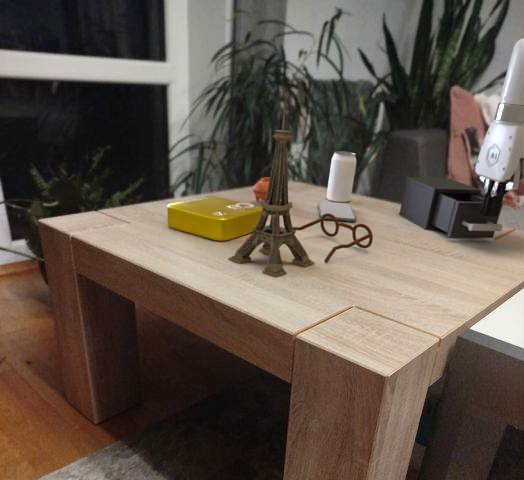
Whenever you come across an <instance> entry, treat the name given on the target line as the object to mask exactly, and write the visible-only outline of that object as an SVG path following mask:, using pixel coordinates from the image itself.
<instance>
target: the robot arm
mask: <svg viewBox="0 0 524 480" xmlns="http://www.w3.org/2000/svg"><path fill="white" fill-rule="evenodd" d="M474 172H475V174H476V175H477V176H479V180H480V181H481V182H482V183H483V185H484V188H483V194H484V196H483V198H484V199H483V203H482V206H481V210H480V214H481V215H483V216H494V217H496V216H498V214H499V210H500V207H501V204H503V200H504V198H505V197H506V196H507V195H508V193H509V192H510V191H518V190H519V185H520V183H521V182H523V181H524V37H523V38H520V39H519V40H517V41H516V42H515V44H514V46H513V49H512V53H511V56H510V59H509V63H508V67H507V70H506V74H505V78H504V82H503V86H502V89H501V93H500V97H499V99H498V104H497V108H496V111H495V114H494V119H493V121H491V123H490V125H489V127H488V129H487V132H486V134H485V136H484V138H483V142H482V144H481V148H480V151H479V153H478V157H477V160H476V163H475V167H474Z"/></svg>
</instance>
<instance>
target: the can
mask: <svg viewBox="0 0 524 480" xmlns="http://www.w3.org/2000/svg"><path fill="white" fill-rule="evenodd" d="M356 155H357V153H355V152H350V151H341V150H338V151H334V154H333V155H332V157H331V162H330V168H329V174H328V175H329V177H328V183H327V191H326V199H327V201H328V202H337V203H349V202H350V201H351V200H352V192H353V188H354V187H353V186H354V180H355V175H356V174H355V173H356V168H357V158H356V157H357V156H356Z"/></svg>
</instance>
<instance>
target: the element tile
mask: <svg viewBox="0 0 524 480" xmlns="http://www.w3.org/2000/svg"><path fill="white" fill-rule="evenodd" d="M166 207H167V210H166V211H167V227H168V228H170V229H174V230H176V231H180V232H183V233H188V234H190V235H193V236H194V235H195V236H198V237H202V238H205V239H207V240H208V239H209V240H212V241H216V242H226V241H230V240H233V239H236V238H240V237H242V236H245V235H249V234H253V232H254V231H253V229H252V228H255V227H256V225H257V224H258V222H259V219H260V216H261V213H262V211H263V208H262V207H261V206H260V205H255V204H251V203H247V202H242V201H237V200H234V199H230V198H225V197H221V196H217V195H207V196H206V195H205V196H202V197H197V198H192V199H188V200H182V201H177V202H173V203H169V204H167V206H166Z"/></svg>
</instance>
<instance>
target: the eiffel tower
mask: <svg viewBox="0 0 524 480" xmlns="http://www.w3.org/2000/svg"><path fill="white" fill-rule="evenodd" d="M286 102H287V100H284V106H286V105H287V103H286ZM283 109H284V110H283V115H282V123H281V129H275V130H274V132H275V133H274V134H273V135H272V137H273V138H274V139H275V140H276V142H275V143H276V144H275V149H274V153H273V160H272V164H271V170H270V176H269V177H270V180H269V185H268V190H267V195H266V200H265V201H264V200H262V201H261V203H260V205H259V206H260V207H262V208H263V211H262V213H261V216H260V219H259V222H258V224H257V225H256V227H255V228H252V229H253V231H254V232H252V233H251V234H250V235H249V237H248V238H247V239H246V240H244V242H243V243H242V244H241V245H240V247H239V248H238V249H237V250H236V251H235V254H234V255H232V256H230V257H228V258H227V259H228V261H230V262H233V263H235V264H238V265H241V264H245V263H248V262H252V256H251V255H252V253H253V252H254V251H255V250H256V248H257V247H258V246H260V245H261V244H262V247H261V248H259V249H258V252H259V253H263V254H266V255H268V259H267V263H266V267H265V268H264V270H262V273H263V274H266V275H267V276H271V277H273V278H278V277H281V276H283V275H286V274H287V271H285V268H284V264H283V261H282V257H281V250H280V248H281V247H282V246H283V245H285V246H286V247H287V248H288V249H289V251H290V253H291V254H292V256H293V258H292V260H291V261H292V262H291V263H292V264H294V265H297V266H299V267H303V268H306V267H309V266H313V265H315V263H316V262H315V261H313V260H311V259H310V257H309V254H308V253H307V251H306V250H305V248H304V246H303V245H302V244H301V242H300V241H299V239H298V237H297V236H296V232H297V230H294V229H293V227H294V226H293V224H292V218H291V212H290V210H291V209H292V208H293V203H292V202H289V179H288V178H289V175H288V141H289V140H291V139H292V138H293V136H292V135H291V133H292V131H291V130H286V129H285V128H286V126H285V125H286V124H285V123H286V107H283ZM273 197H274V198H273ZM269 216H270V221H269V224H268V225H267V221H268V219H269ZM281 216H282V221H283V226H280V220H281V219H280V217H281Z"/></svg>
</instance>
